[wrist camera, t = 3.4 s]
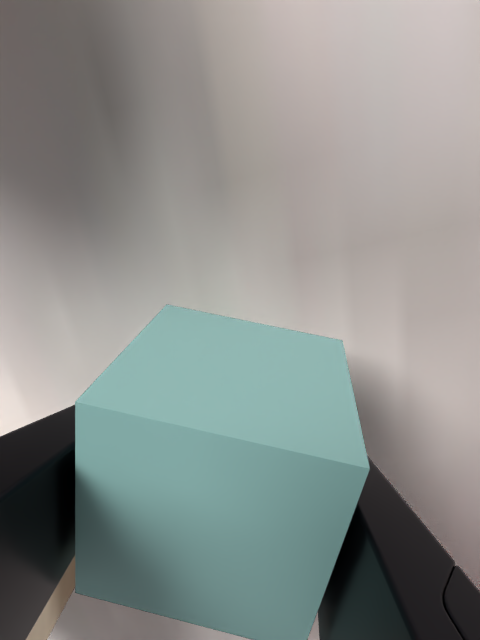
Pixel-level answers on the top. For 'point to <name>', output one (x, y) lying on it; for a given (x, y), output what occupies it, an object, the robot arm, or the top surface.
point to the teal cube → (217, 474)
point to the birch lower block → (54, 605)
